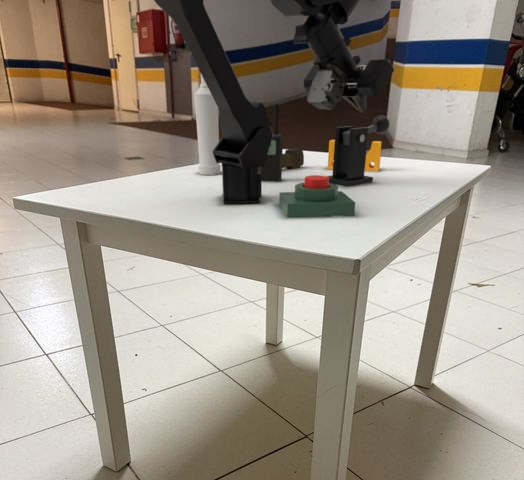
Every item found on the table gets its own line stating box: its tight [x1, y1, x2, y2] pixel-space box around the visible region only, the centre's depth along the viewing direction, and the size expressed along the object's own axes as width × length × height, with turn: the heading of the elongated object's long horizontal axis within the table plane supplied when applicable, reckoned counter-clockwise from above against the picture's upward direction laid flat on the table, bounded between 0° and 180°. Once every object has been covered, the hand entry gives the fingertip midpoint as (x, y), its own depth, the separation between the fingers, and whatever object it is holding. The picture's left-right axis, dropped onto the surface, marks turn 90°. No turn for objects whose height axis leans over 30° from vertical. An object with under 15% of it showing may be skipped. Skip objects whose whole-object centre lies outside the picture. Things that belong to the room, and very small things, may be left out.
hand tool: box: [258, 147, 305, 172], centre depth 117 cm, size 19×4×5 cm, turn 135°
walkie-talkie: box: [259, 103, 284, 183], centre depth 104 cm, size 5×3×15 cm
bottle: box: [193, 73, 222, 176], centre depth 110 cm, size 5×5×25 cm
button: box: [303, 175, 329, 189], centre depth 81 cm, size 4×4×2 cm
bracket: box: [326, 125, 374, 188], centre depth 103 cm, size 8×7×11 cm
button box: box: [278, 182, 356, 219], centre depth 82 cm, size 11×9×4 cm
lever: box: [342, 114, 390, 145], centre depth 103 cm, size 12×4×4 cm, turn 128°
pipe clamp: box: [327, 139, 382, 172], centre depth 119 cm, size 12×4×6 cm, turn 73°
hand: (363, 110), depth 100 cm, fingers closed
